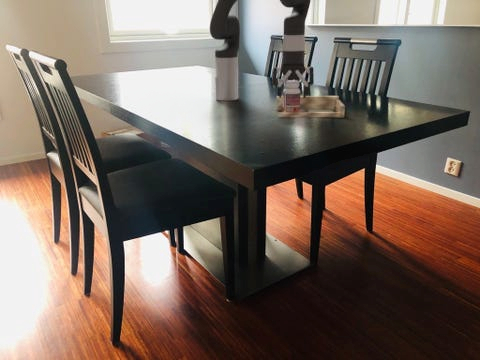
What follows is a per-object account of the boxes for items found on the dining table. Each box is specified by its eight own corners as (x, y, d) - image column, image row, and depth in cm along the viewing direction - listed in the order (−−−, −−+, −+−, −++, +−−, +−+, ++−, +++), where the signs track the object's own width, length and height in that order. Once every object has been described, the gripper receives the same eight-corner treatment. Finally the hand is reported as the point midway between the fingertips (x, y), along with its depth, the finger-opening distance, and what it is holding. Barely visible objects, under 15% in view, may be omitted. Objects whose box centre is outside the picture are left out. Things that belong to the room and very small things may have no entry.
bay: (277, 117, 135) (278, 103, 133) (276, 109, 147) (276, 96, 145) (343, 117, 134) (345, 103, 132) (336, 109, 146) (338, 95, 144)
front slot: (311, 116, 136) (311, 115, 136) (307, 110, 145) (308, 109, 144) (336, 116, 136) (336, 115, 136) (331, 110, 144) (331, 109, 144)
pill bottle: (303, 113, 140) (304, 81, 136) (290, 116, 137) (291, 83, 132) (291, 110, 145) (293, 79, 140) (278, 113, 142) (279, 81, 137)
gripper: (272, 50, 129) (272, 99, 135) (316, 49, 128) (313, 99, 134) (272, 49, 136) (271, 95, 142) (313, 48, 135) (311, 95, 141)
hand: (292, 97), depth 138 cm, fingers open, 8 cm apart
